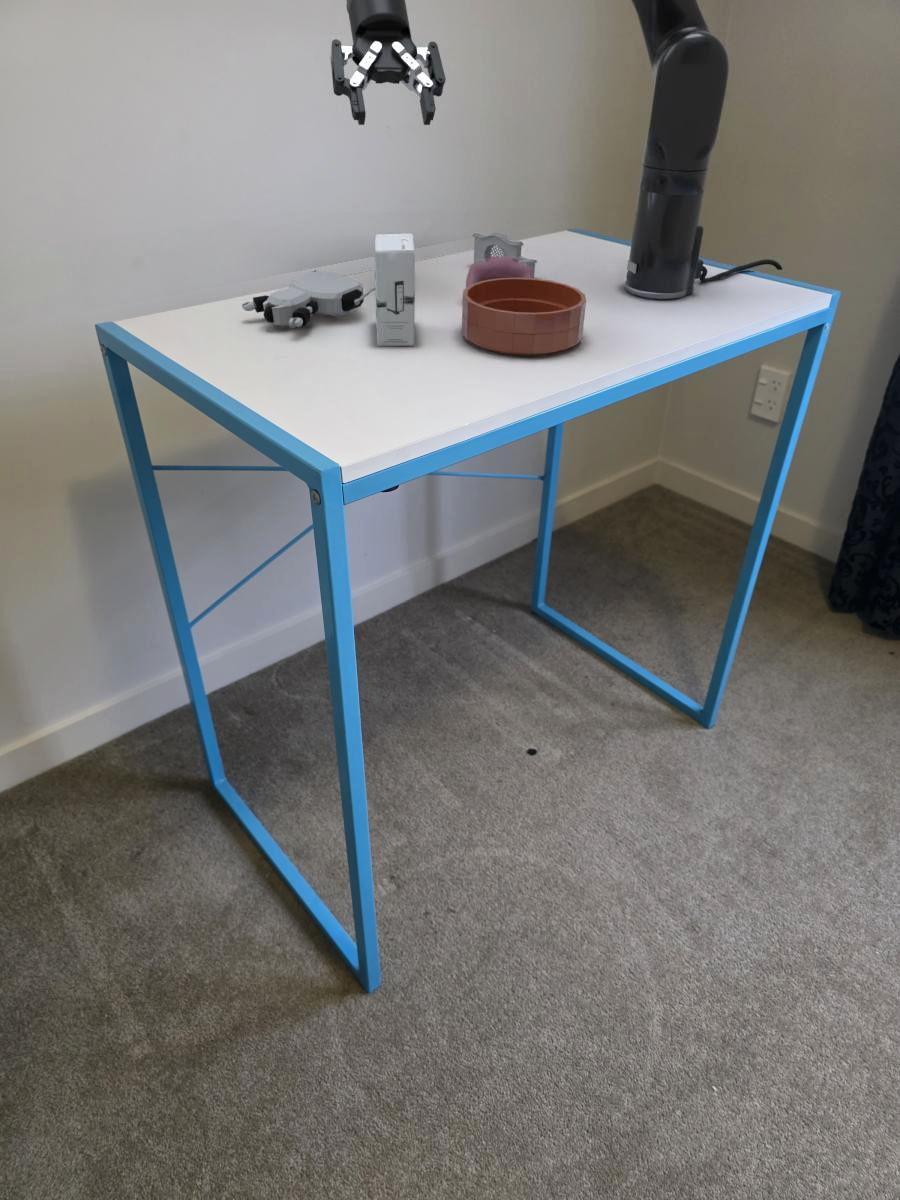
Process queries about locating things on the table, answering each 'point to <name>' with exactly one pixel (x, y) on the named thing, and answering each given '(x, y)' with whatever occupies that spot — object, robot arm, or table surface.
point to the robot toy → (310, 299)
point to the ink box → (395, 289)
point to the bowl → (523, 315)
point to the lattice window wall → (500, 240)
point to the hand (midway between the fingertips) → (395, 120)
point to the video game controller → (498, 269)
